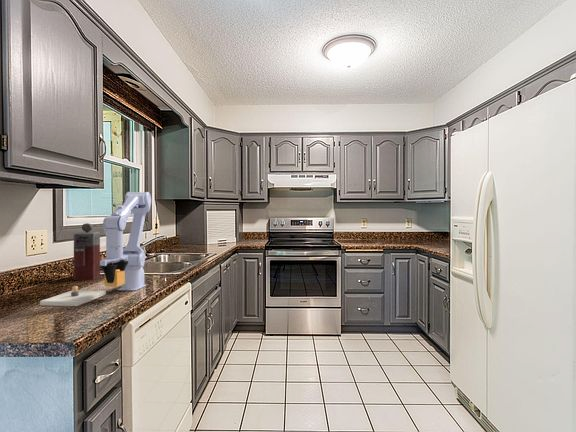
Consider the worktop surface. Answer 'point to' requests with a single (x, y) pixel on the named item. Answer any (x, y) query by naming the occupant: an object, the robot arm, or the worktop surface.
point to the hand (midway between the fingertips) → (114, 281)
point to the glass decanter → (86, 254)
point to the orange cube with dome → (117, 278)
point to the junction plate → (73, 297)
